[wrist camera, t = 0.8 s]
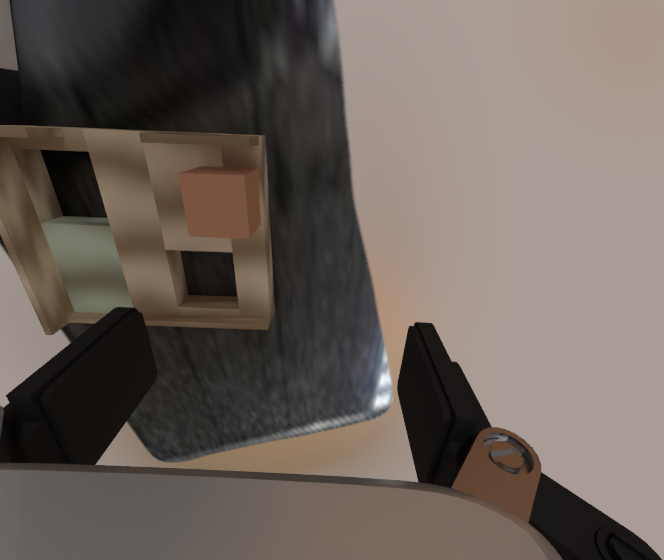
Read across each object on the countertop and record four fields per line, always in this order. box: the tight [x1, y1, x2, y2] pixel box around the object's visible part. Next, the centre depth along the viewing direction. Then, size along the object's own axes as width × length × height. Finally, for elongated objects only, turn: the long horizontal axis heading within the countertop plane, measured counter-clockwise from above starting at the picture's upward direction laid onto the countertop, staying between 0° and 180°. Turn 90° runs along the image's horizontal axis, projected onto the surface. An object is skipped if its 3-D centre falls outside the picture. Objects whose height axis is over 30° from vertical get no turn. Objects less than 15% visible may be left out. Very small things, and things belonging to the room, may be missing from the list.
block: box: [178, 166, 261, 239], centre depth 24 cm, size 4×4×4 cm
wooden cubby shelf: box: [0, 125, 275, 335], centre depth 27 cm, size 17×20×6 cm
